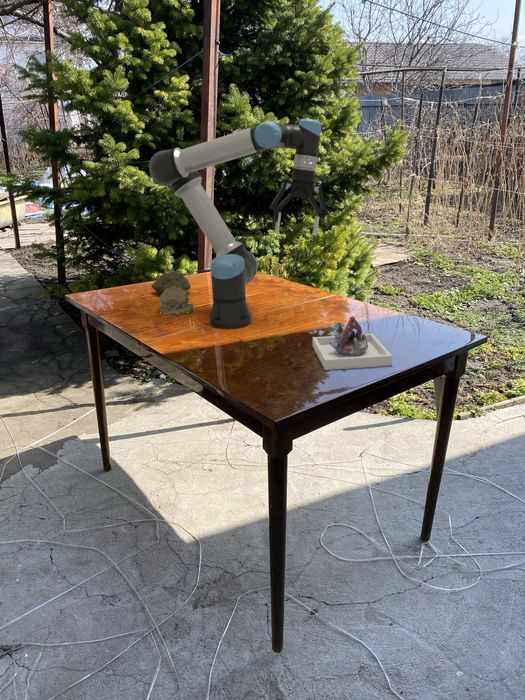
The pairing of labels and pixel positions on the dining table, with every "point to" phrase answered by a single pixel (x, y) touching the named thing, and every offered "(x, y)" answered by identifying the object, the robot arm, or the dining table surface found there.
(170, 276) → the decorative rock
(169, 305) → the ceramic model
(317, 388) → the dining table surface
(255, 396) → the dining table surface
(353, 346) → the brake caliper
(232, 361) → the dining table surface
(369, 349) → the tray
